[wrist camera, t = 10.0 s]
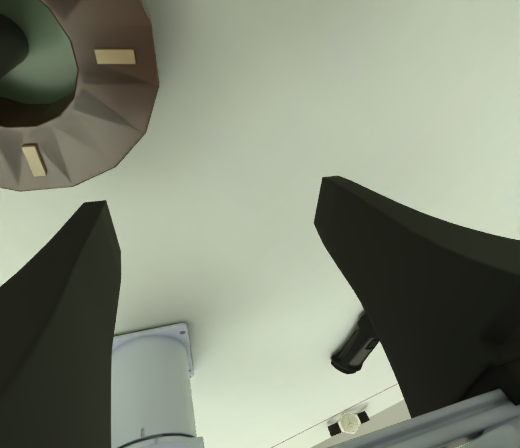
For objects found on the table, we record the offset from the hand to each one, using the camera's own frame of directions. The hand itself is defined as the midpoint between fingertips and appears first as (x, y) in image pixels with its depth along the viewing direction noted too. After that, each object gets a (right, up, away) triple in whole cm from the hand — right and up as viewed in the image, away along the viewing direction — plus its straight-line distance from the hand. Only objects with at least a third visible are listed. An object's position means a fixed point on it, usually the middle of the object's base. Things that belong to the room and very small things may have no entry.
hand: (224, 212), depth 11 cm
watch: (+17, -36, +49) cm, 63 cm away
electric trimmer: (+14, -13, +29) cm, 35 cm away
